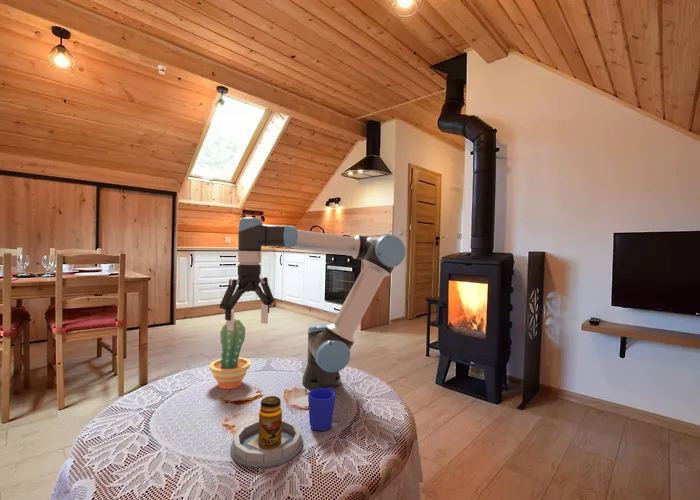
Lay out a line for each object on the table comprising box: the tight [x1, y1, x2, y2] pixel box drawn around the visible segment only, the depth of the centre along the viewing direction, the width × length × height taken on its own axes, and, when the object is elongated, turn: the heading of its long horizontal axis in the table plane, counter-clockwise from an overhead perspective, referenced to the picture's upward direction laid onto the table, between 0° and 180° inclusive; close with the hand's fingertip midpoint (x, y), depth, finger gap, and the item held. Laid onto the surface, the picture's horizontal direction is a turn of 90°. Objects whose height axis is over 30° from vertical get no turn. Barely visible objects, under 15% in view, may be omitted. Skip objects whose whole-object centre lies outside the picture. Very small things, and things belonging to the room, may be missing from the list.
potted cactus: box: [208, 318, 252, 390], centre depth 133 cm, size 15×15×25 cm
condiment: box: [247, 395, 288, 451], centre depth 93 cm, size 7×8×12 cm
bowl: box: [230, 418, 304, 469], centre depth 93 cm, size 19×19×3 cm
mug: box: [307, 387, 336, 432], centre depth 106 cm, size 8×12×10 cm
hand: (248, 326), depth 116 cm, fingers open, 13 cm apart
